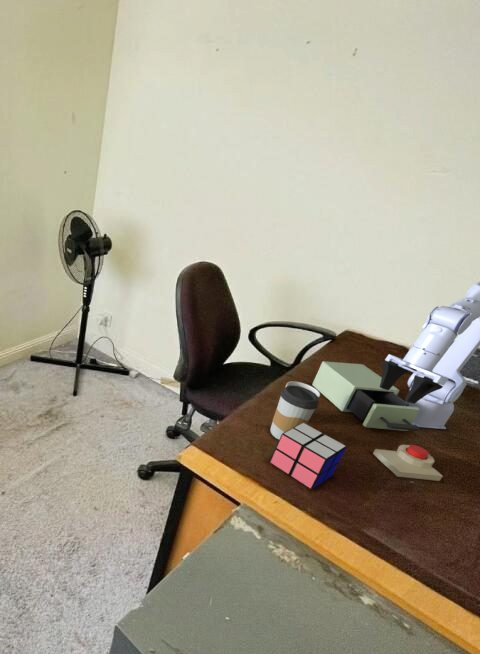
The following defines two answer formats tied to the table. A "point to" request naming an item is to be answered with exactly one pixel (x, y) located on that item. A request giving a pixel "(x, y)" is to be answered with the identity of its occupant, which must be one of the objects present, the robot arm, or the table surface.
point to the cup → (304, 387)
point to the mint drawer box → (346, 382)
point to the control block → (408, 464)
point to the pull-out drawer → (383, 410)
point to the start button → (417, 452)
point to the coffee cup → (293, 409)
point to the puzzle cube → (307, 455)
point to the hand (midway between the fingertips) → (396, 395)
